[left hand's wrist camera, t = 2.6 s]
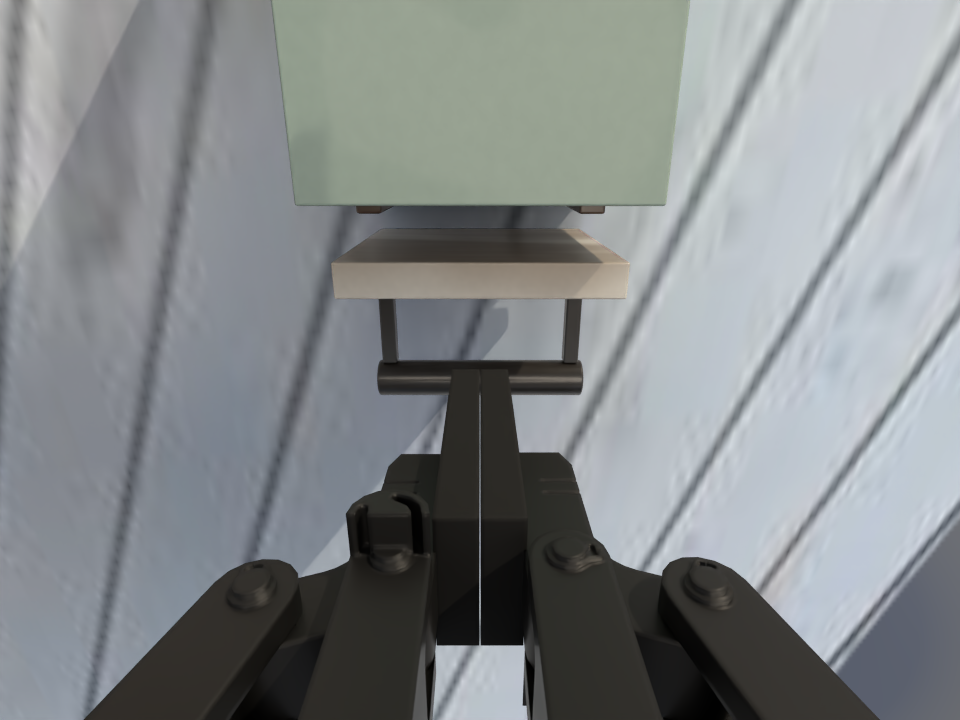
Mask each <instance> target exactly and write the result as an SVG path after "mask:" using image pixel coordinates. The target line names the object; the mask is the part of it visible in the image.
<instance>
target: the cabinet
mask: <svg viewBox="0 0 960 720" xmlns="http://www.w3.org/2000/svg"><path fill="white" fill-rule="evenodd" d="M271 4H272V13H273V21H274V30H275V38H276V47H277V55H278V64H279V72H280V81H281V89H282V98H283V106H284V115H285V123H286V132H287V140H288V149H289V157H290V166H291V174H292V183H293V192H294V200H295V205H297V206H664V205H665V204H666V199H667V191H668V183H669V174H670V166H671V157H672V149H673V140H674V132H675V124H676V115H677V107H678V98H679V90H680V81H681V73H682V65H683V56H684V48H685V39H686V31H687V22H688V14H689V5H690V0H271Z"/></svg>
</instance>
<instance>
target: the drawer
mask: <svg viewBox="0 0 960 720" xmlns="http://www.w3.org/2000/svg"><path fill="white" fill-rule="evenodd" d="M391 207H393V206H356V211H357V213H359V214H379V213H381V212H383V211H385V210H387V209H389V208H391ZM567 207H569V208H571V209H573V210H575V211H577V212H579V213H581V214H603V213H604V212H605V206H567ZM629 267H630V263H629V262H627V261H626V260H624V259H623V258H621V257H620V256H618V255H617V254H615V253H614V252H613V251H611V250H610V249H608V248H607V247H605V246H604V245H602V244H601V243H599V242H598V241H596V240H595V239H593V238H592V237H590V236H589V235H587V234H586V233H584V232H583V231H581V230H580V229H381V230H379V231H378V232H376V233H375V234H373V235H372V236H370V237H369V238H367V239H366V240H364V241H363V242H361V243H360V244H358V245H357V246H355V247H354V248H353V249H351V250H350V251H348V252H347V253H345V254H344V255H342V256H341V257H339V258H338V259H336V260H335V261H333V262H332V263H331V269H332V279H333V289H334V297H335V299H379V311H380V325H381V340H382V355H383V360H381V361H380V362H379V365H378V374H377V382H378V390H379V393H380V394H381V395H449V389H450V381H451V374H452V369H479V395H481V369H508V374H509V381H510V389H511V395H580V394H581V392H582V388H583V368H582V364H581V361H580V360H578V348H579V334H580V319H581V305H582V299H626V297H627V287H628V277H629ZM395 299H565V311H564V328H563V345H562V360H398V358H399V353H398V336H397V318H396V301H395Z"/></svg>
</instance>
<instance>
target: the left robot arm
mask: <svg viewBox="0 0 960 720" xmlns="http://www.w3.org/2000/svg"><path fill="white" fill-rule="evenodd" d="M346 518H347V528H348V537H349V547H350V559H349V561H348V562H347V563H345V564H343V565H341V566H339V567H337V568H335V569H331V570H328V571H325V572H322V573H318V574H314V575H309V576H305V577H301V578H298V573H297V572H296V571H295V569H294V568H293V567H292V566H291V565H290V564H288V563H285V562H283V561H280V560H268V559H262V560H258V561H253V562H249V563H245V564H243V565H241V566H239V567H236V568H234V569H232V570H230V571H228V572H227V573H226V574H225V575H223V576H222V577H221V578H220V579H218V580H217V581H216V582H215V583H214V584H213V585H212V586H211V587H210V588H209V589H208V590H207V591H206V592H205V593H204V594H203V595H202V596H201V597H200V598H199V600H198V601H197V602H196V603H195V604H194V605H193V606H192V607H191V608H190V609H189V610H188V611H187V612H186V613H185V614H184V615H183V616H182V617H181V618H180V619H179V620H178V622H177V623H176V624H175V625H174V626H173V627H172V628H171V629H170V630H169V631H168V632H167V633H166V634H165V635H164V636H163V637H162V638H161V639H160V640H159V641H158V642H157V644H156V645H155V646H154V647H153V648H152V649H151V650H150V651H149V652H148V653H147V654H146V655H145V656H144V657H143V658H142V659H141V660H140V661H139V662H138V663H137V664H136V666H135V667H134V668H133V669H132V670H131V671H130V672H129V673H128V674H127V675H126V676H125V677H124V678H123V679H122V680H121V681H120V682H119V683H118V684H117V685H116V686H115V688H114V689H113V690H112V691H111V692H110V693H109V694H108V695H107V696H106V697H105V698H104V699H103V700H102V701H101V702H100V703H99V704H98V705H97V706H96V707H95V708H94V710H93V711H92V712H91V713H90V714H89V715H88V716H87V717H86V718H85V719H84V720H432V717H433V705H434V692H435V680H436V661H435V648H436V638H437V645H479V369H452V374H451V381H450V389H449V396H448V403H447V411H446V418H445V426H444V433H443V440H442V448H441V454H401V455H400V456H399V457H398V458H397V459H396V460H395V461H394V462H393V463H392V464H391V465H390V466H389V467H388V470H387V473H386V477H385V480H384V483H383V487H382V490H381V491H378V492H375V493H372V494H369V495H366V496H364V497H362V498H361V499H359V500H358V501H356V502H355V503H353V504H352V506H351V507H350V509H349V510H348V512H347V513H346ZM523 638H524V645H525V661H524V686H523V706H527V717H528V720H880V719H879V718H878V717H877V716H876V715H875V714H874V713H873V712H872V711H871V710H870V709H869V708H868V707H867V706H866V705H865V704H864V703H863V702H862V701H861V700H860V699H859V698H858V697H857V695H856V694H855V693H854V692H853V691H852V690H851V689H850V688H849V687H848V686H847V685H846V684H845V683H844V682H843V681H842V680H841V679H840V678H839V677H838V676H837V675H836V674H835V673H834V672H833V670H832V669H831V668H830V667H829V666H828V665H827V664H826V663H825V662H824V661H823V660H822V659H821V658H820V657H819V656H818V655H817V654H816V653H815V652H814V651H813V650H812V649H811V648H810V647H809V646H808V644H807V643H806V642H805V641H804V640H803V639H802V638H801V637H800V636H799V635H798V634H797V633H796V632H795V631H794V630H793V629H792V628H791V627H790V626H789V625H788V624H787V623H786V622H785V621H784V619H783V618H782V617H781V616H780V615H779V614H778V613H777V612H776V611H775V610H774V609H773V608H772V607H771V606H770V605H769V604H768V603H767V602H766V601H765V600H764V599H763V598H762V597H761V596H760V595H759V593H758V592H757V591H756V590H755V589H754V588H753V587H752V586H751V585H750V584H749V583H748V582H747V581H746V580H745V579H744V578H742V577H741V576H740V575H739V574H737V573H736V572H735V571H734V570H732V569H731V568H729V567H727V566H724V565H722V564H720V563H718V562H716V561H713V560H708V559H704V558H699V557H685V558H680V559H677V560H675V561H672V562H670V563H669V564H668V565H667V566H666V568H665V569H664V570H663V572H662V576H660V575H655V574H651V573H647V572H643V571H639V570H635V569H632V568H629V567H626V566H623V565H621V564H620V563H618V562H616V561H614V560H612V559H611V558H610V555H609V554H608V552H607V550H606V549H605V547H604V545H603V544H601V543H600V542H599V541H598V540H596V539H595V538H594V537H593V534H592V531H591V527H590V524H589V521H588V517H587V514H586V511H585V508H584V504H583V501H582V498H581V494H580V493H579V488H578V484H577V482H576V478H575V475H574V471H573V468H572V465H571V464H570V463H569V462H568V461H567V460H566V459H565V458H564V457H563V456H562V455H561V454H560V453H519V448H518V440H517V433H516V426H515V418H514V411H513V403H512V396H511V389H510V381H509V374H508V369H481V645H523Z"/></svg>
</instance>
